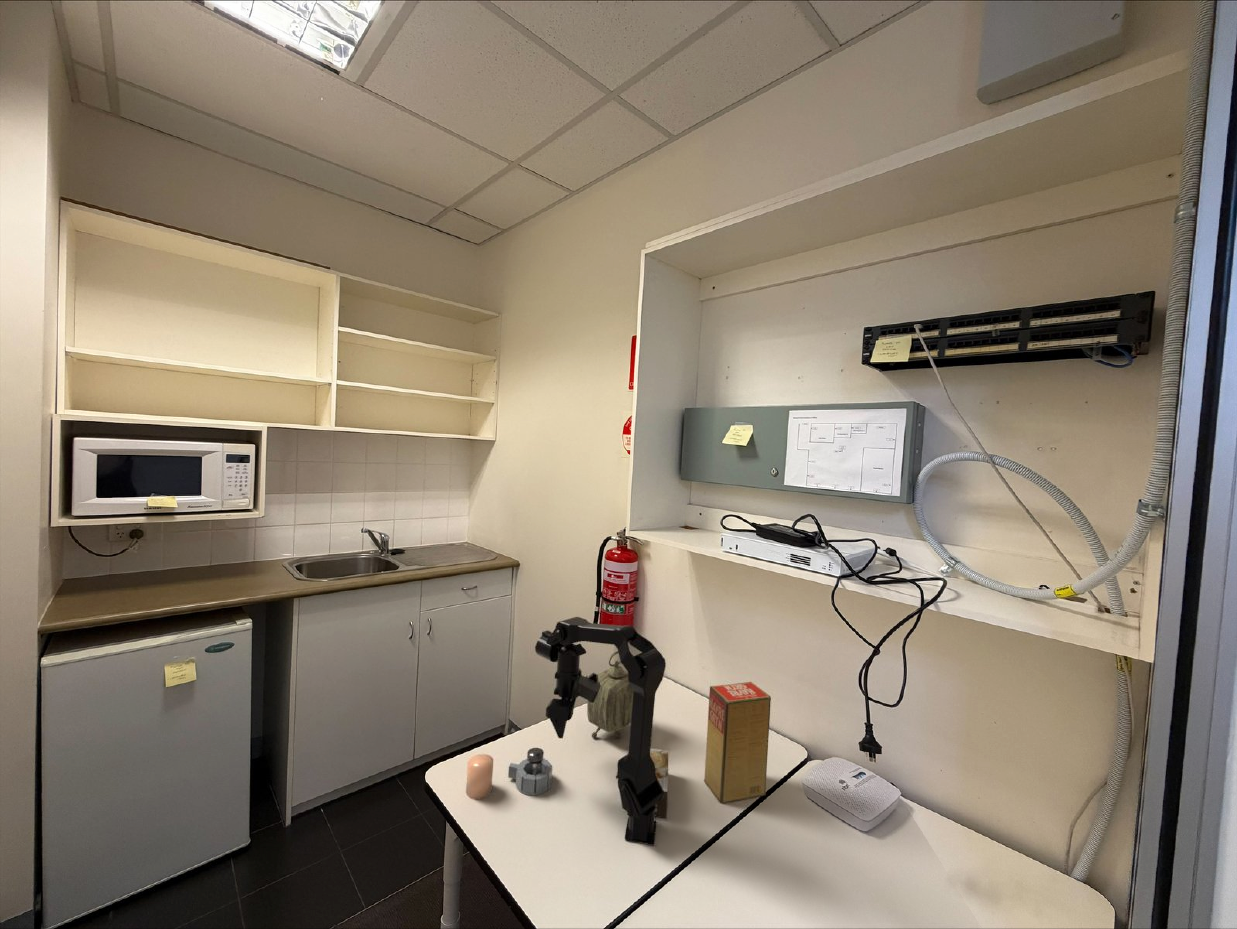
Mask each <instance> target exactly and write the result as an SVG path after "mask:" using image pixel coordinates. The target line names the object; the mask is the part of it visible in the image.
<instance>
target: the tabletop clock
mask: <svg viewBox="0 0 1237 929" xmlns="http://www.w3.org/2000/svg"><path fill="white" fill-rule="evenodd" d="M617 655H619V652H618V650H617V651H615V652H613V653H612V654H611V655H610V657H609V659H608V665H609V666H610V667H609V668H608V669H606V670H603V671H602V672H600V673H597V675H598V683H599V682H600V685H601V687H600V690H599V692H598V695H597V697H596V699H595V701H594V703H591V702H589V701H588V700H586V701H587V702H586V703H587V704H586V705H587V709H586V713H587V714H586V716H587V719H588V722H589V723H591V724H593V725H594V726H596V727H597V728H596V730H595V731H593V732H592V733H591V737H592V739H596V738H597V736H598V733H599V731H600V730H601V729H602V730H603V731H605V732H607V733H614V732H615V738H617V739H620V738H621V736H622V734H621V732H620V730H622V729H624V728H626V727H627V726H628V725H631V714H632V703H633V690H632V688H631V686H630V684H629V681H628V671H627V670H624V668H623V667H622V666H620V664H622V663H621V661H620V660H615V661H614V664H613V663H611V661H612V659H613V657H614V656H617Z"/></svg>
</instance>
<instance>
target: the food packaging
mask: <svg viewBox="0 0 1237 929" xmlns="http://www.w3.org/2000/svg"><path fill="white" fill-rule="evenodd" d="M708 697H709V698H708V714H707V729H706V730H707V732H706V735H707V736H706V748H705V765H704V766H705V767H704V769H705V770H704V779H703V781H704V783H705V785H706V786H707V787H708V789H709V790H710V791H711V792H712V794H713V795H714V797H715V799H716V800H717V801H718V803H720V804H727V803H728V804H729V803H732V802H737V801H742V800H747V799H748V800H749V799H754V798H758V797H759V798H760V797H763V796H766V790H767V787H766V786H767V771H768V770H767V768H768V767H767V765H768V751H769V735H770V719H771V703H772V702H771V701H772V698H771V695H769V694H768V693H767V692H766V691H764V690H763V689H761V688H760V687H759V686H758V685H757V684H755V683H753V681H747V682H737V683H731V684H730V683H729V684H721V685H719V684H718V685H710V686H709V695H708Z"/></svg>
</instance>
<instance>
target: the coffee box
mask: <svg viewBox="0 0 1237 929" xmlns="http://www.w3.org/2000/svg"><path fill="white" fill-rule="evenodd" d="M669 754H670V753H669V750H664V749H660V748H650V756H651V758H652V760H653V762H654V764H655V775H656V777H657V779H658V781H659V783H660V785H661V787H662V789H663V791H664V793H665V794H664V797H663V799H662V800H661V801H659V802H658V803H657V804H656V805H655V817H659V818H665V819H666V818H667V811H668V792H669V791H668V789H669Z"/></svg>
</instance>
